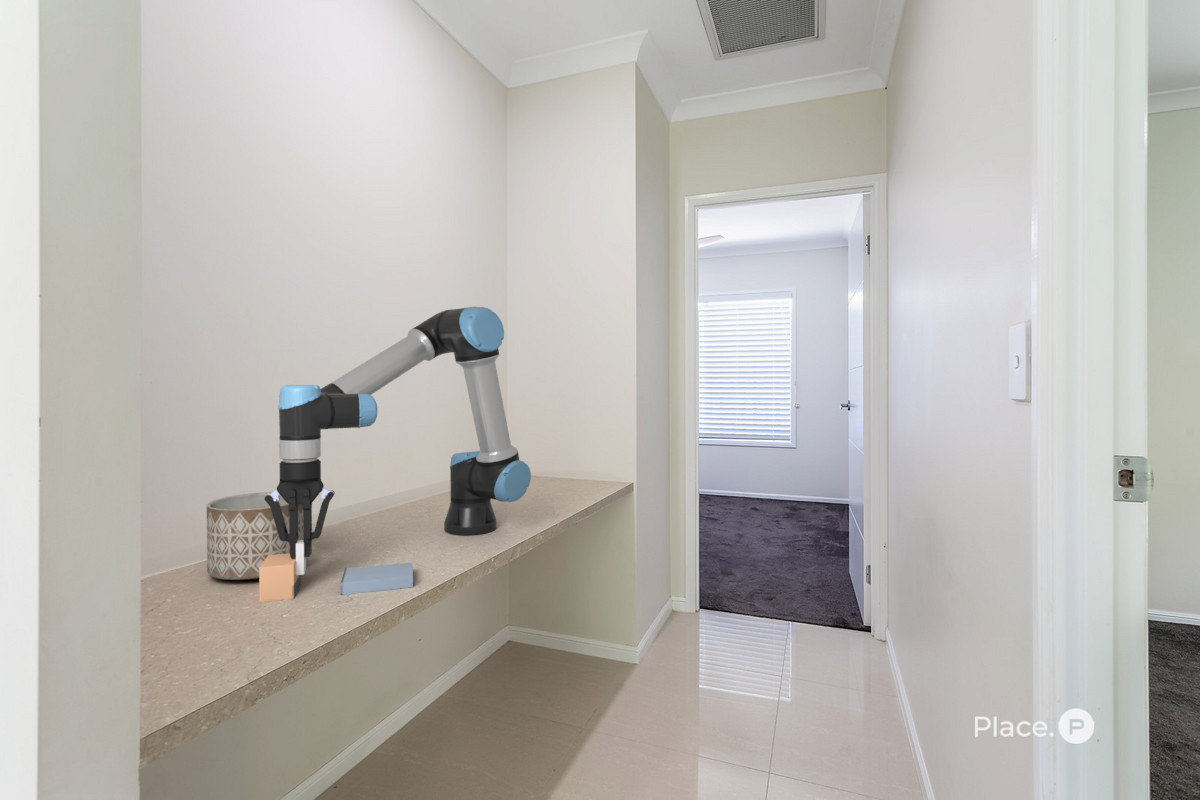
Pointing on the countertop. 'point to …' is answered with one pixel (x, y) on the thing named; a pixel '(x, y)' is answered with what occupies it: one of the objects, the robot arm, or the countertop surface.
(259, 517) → the planter
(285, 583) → the block
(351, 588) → the blue-grey slab
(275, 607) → the countertop surface
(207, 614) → the countertop surface
